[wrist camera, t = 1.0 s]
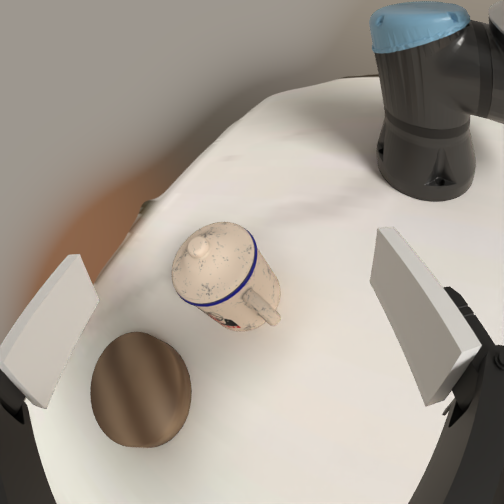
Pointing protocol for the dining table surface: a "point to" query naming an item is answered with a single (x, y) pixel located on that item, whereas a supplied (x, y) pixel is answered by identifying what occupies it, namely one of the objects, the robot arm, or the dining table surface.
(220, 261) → the teacup with lid
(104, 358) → the brown round disc
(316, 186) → the dining table surface
